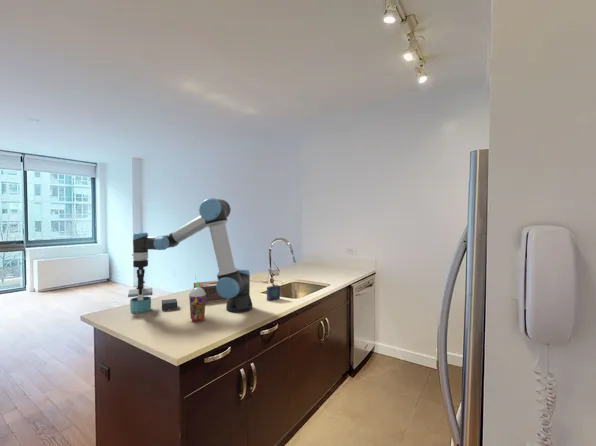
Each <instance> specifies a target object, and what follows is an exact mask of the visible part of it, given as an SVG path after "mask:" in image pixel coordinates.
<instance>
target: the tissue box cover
mask: <svg viewBox="0 0 596 446" xmlns="http://www.w3.org/2000/svg"><path fill="white" fill-rule="evenodd" d="M197 282H198V287H200V288H202V289H204V291H205V293H206V302H205V303H207V302H209V301H210V302H217V300H218V301H224V300H225V301H226V300H227V299H226V298H223V297H221V296H220V295H219V294H218V292H217V290H216V285H217V282H218V280H209V281H200V282H199V281H197ZM197 282H193V289H194V288H196V287H197Z"/></svg>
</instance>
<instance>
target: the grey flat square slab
mask: <svg viewBox="0 0 596 446" xmlns="http://www.w3.org/2000/svg"><path fill="white" fill-rule="evenodd" d="M127 295H128V296H127V298H136V297H138V289H136V288H135V289H134V288H133V289H128V293H127ZM153 295H154V293H153V287H147V288H145V287H144V289H143V296H146V297H149V296H153Z"/></svg>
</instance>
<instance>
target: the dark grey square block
mask: <svg viewBox="0 0 596 446" xmlns="http://www.w3.org/2000/svg"><path fill="white" fill-rule="evenodd" d="M161 309H162V310H161V311H162V312H163V311H172V310H178V300H177V298H170V299H163V300H162V299H161Z"/></svg>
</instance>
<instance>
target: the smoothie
mask: <svg viewBox="0 0 596 446" xmlns="http://www.w3.org/2000/svg"><path fill="white" fill-rule="evenodd" d="M198 282H199V281H196V283H197V287H196V288H194V287H193V288H192V289H191V290H190V293H189V299H188V300H189V313H190V315H189V316H190V320H191V322H193V323H201V322H202V321H204V318H205V314H206V313H205V312H206V303H207V302H206V293H205V291H204V289H202V288H200V287H198Z"/></svg>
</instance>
